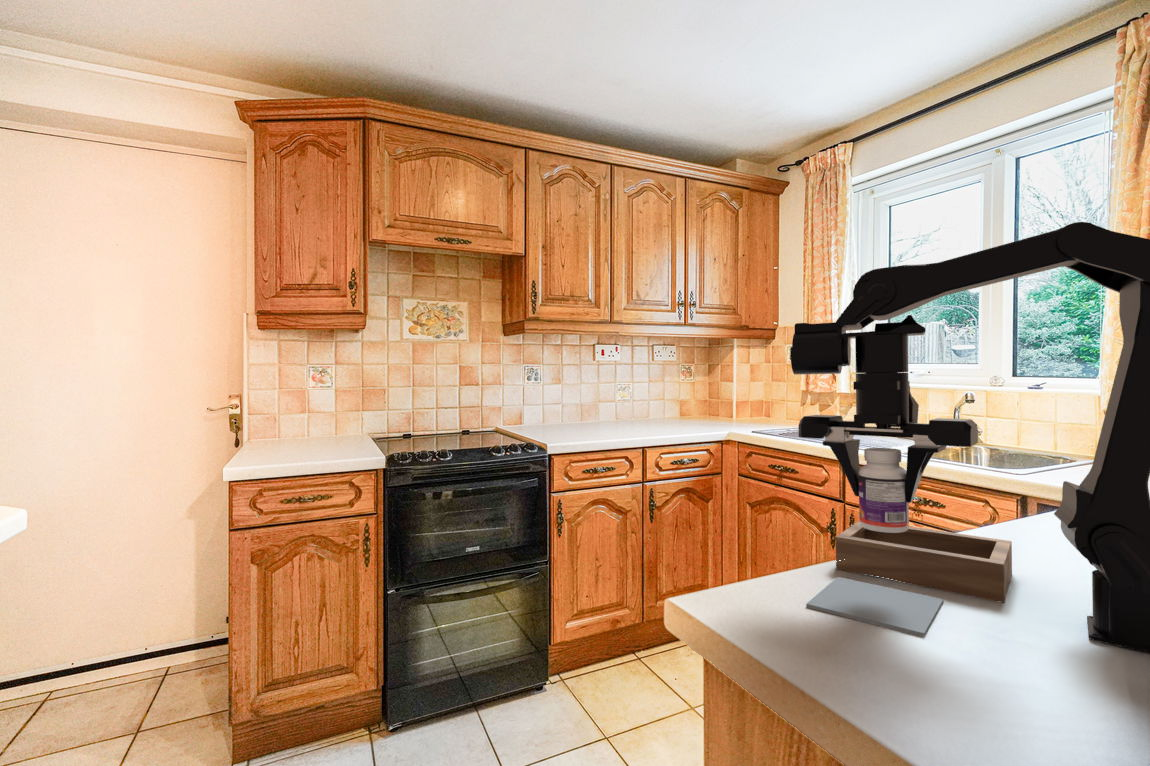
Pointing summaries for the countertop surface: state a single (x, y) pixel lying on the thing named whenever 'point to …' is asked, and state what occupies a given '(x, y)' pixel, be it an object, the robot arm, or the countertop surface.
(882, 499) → the pill bottle
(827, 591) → the mat
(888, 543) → the slot box
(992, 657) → the countertop surface
